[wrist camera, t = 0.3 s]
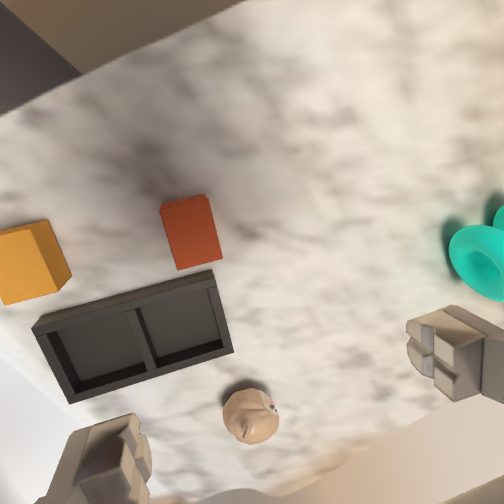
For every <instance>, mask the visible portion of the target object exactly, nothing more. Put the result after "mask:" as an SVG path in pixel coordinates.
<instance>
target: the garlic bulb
mask: <svg viewBox="0 0 504 504" xmlns="http://www.w3.org/2000/svg"><path fill="white" fill-rule="evenodd" d="M223 420H224V423H225V426H226V428H227V429H228V431H229V432H230V433H231V434H233V435H234V436H235V437H236V438H237V440H239V441H240V442H243V443H246V444H249V445H253V444H257V443H260V442H263V441H265V440H267V439H269V438H270V437H271V436H272V435H273V434H274V433H275V432H276V431H277V429H278V425H279V416H278V414H277V409H275V403H274V402H273V401H272V400H271V398H270V397H269V396H268V395H267V394H266V393H265V392H263V391H261V390H256V389H254V388H250V389H245V390H242V391H237V392H235V393H234V394H233V395H232V396H231V397H230V398H229V399H228V401H227V402H226V404H225V406H224V408H223Z"/></svg>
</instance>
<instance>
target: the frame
mask: <svg viewBox="0 0 504 504" xmlns="http://www.w3.org/2000/svg"><path fill="white" fill-rule="evenodd" d="M31 330H32V332H33V334H34V336H35V337H36V340H37V342H38V344H39V346H40V348H41V350H42V352H43V353H44V355H45V357H46V359H47V361H48V363H49V365H50V367H51V369H52V371H53V373H54V375H55V377H56V379H57V381H58V383H59V385H60V387H61V389H62V391H63V393H64V395H65V397H66V399H67V401H68V403H69V404H73V403H76V402H79V401H82V400H85V399H88V398H92V397H95V396H98V395H101V394H104V393H107V392H111V391H114V390H117V389H120V388H123V387H126V386H129V385H133V384H136V383H139V382H142V381H145V380H148V379H152V378H155V377H158V376H161V375H164V374H167V373H170V372H174V371H177V370H180V369H183V368H186V367H189V366H193V365H196V364H199V363H202V362H205V361H208V360H211V359H215V358H218V357H221V356H224V355H227V354H230V353H234V350H233V346H232V342H231V338H230V335H229V331H228V327H227V323H226V319H225V316H224V312H223V308H222V304H221V300H220V297H219V293H218V289H217V285H216V281H215V278H214V274H213V271H212V270H208V271H205V272H201V273H197V274H194V275H190V276H186V277H183V278H179V279H175V280H172V281H168V282H164V283H161V284H157V285H153V286H150V287H146V288H142V289H139V290H135V291H131V292H128V293H124V294H120V295H117V296H113V297H109V298H106V299H102V300H98V301H95V302H91V303H87V304H84V305H80V306H76V307H72V308H69V309H65V310H61V311H58V312H54V313H50V314H47V315H43V316H41V317H40V319H39V320H38V321H37V322H36V323H35V324H34V326H33V327H32V328H31Z"/></svg>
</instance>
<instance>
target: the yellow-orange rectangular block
mask: <svg viewBox="0 0 504 504" xmlns="http://www.w3.org/2000/svg"><path fill="white" fill-rule="evenodd" d="M71 277H72V275H71V273H70V270H69V268H68V266H67V263H66V261H65V259H64V256H63V254H62V252H61V249H60V247H59V245H58V242H57V240H56V238H55V235H54V233H53V231H52V228H51V226H50V224H49V221H48V220H44V221H40V222H36V223H31V224H27V225H22V226H18V227H14V228H9V229H5V230H1V231H0V298H1V300H2V301H3V303H4V305H9V304H13V303H17V302H21V301H25V300H28V299H32V298H36V297H40V296H44V295H47V294H51V293H55V292H58V291H59V290H60V289H61V288H62V287H63V286H64V284H65V283H66V282H67V281H68V280H69V279H70V278H71Z"/></svg>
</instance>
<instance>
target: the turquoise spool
mask: <svg viewBox="0 0 504 504" xmlns="http://www.w3.org/2000/svg"><path fill="white" fill-rule="evenodd" d="M449 256H450V260H451V263H452V265H453V267H454V269H455V270H456V272H457V273H458V275H459V276H460V277H461V279H462V280H463V281H464V282H465V283H466V284H467V285H468V286H469V287H471V288H472V289H473V290H475V291H476V292H478V293H479V294H481V295H483V296H484V297H487V298H489V299H492V300H495V301H499V302H504V205H503V206H502V207H501V208H500V209H499V210H498V211H497V213H496V215H495V217H494V220H493V227H491V226H486V225H471V226H467V227H464V228H462V229H460V230H459V231H457V232H456V233H455V234H454V235H453V237H452V239H451V241H450V244H449Z"/></svg>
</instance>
